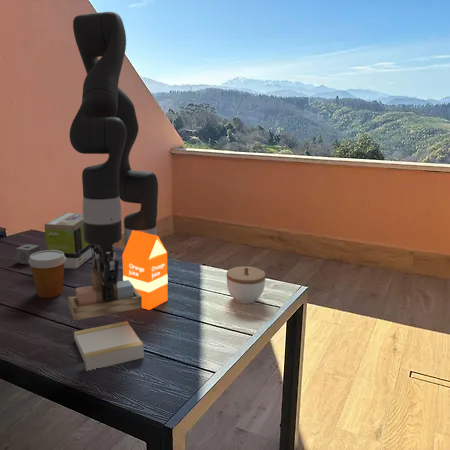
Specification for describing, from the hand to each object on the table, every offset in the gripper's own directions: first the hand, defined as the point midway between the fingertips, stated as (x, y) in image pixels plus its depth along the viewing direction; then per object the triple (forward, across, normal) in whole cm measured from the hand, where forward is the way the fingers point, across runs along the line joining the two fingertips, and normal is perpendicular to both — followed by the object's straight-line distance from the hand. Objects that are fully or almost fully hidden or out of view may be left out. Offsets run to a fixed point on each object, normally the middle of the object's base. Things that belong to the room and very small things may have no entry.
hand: (105, 296), depth 100 cm
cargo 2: (+1, 0, -4) cm, 4 cm away
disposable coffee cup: (+13, +35, +7) cm, 38 cm away
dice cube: (+13, +67, +9) cm, 69 cm away
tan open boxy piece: (+3, 0, 0) cm, 3 cm away
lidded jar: (+13, +11, -41) cm, 44 cm away
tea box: (+13, +62, -4) cm, 63 cm away
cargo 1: (+1, 0, +4) cm, 4 cm away
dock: (+13, 0, 0) cm, 13 cm away
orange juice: (+13, +19, -15) cm, 28 cm away
